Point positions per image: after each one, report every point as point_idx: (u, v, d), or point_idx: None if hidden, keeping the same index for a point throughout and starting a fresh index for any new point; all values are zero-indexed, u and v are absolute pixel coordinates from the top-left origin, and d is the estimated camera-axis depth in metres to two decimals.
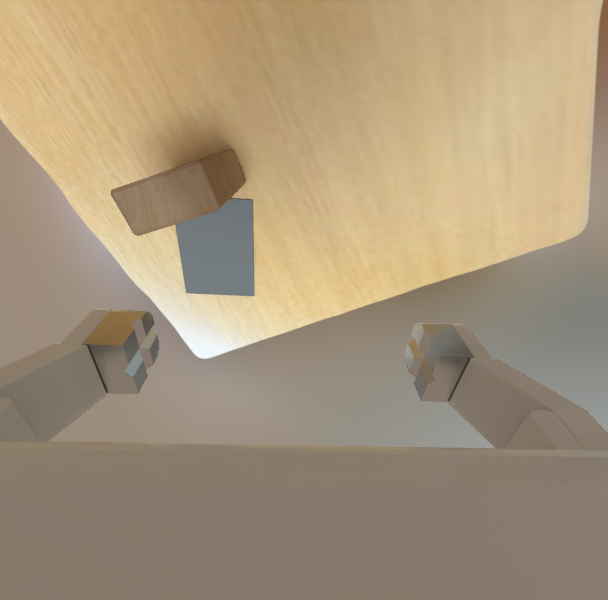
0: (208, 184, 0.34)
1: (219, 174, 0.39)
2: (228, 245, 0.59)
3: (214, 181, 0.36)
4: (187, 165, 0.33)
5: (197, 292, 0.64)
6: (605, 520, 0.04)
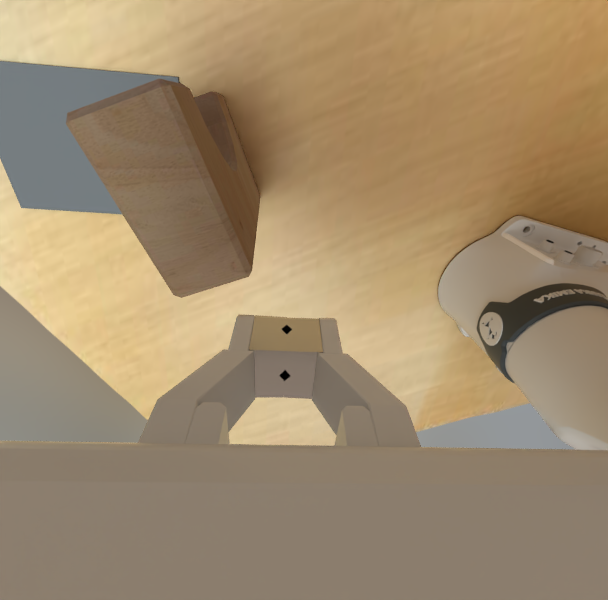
0: (216, 285, 0.20)
1: None
2: None
3: None
4: (243, 258, 0.19)
5: None
6: (605, 520, 0.04)
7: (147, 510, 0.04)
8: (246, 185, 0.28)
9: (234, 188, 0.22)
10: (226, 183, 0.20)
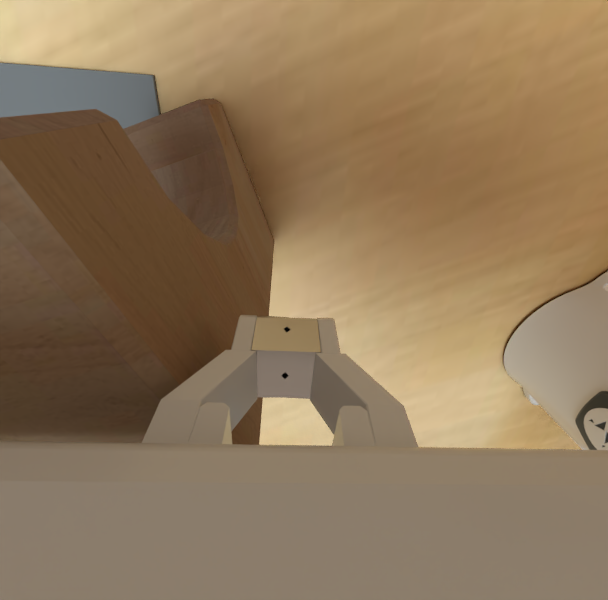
0: None
1: None
2: None
3: None
4: None
5: None
6: (605, 520, 0.04)
7: (147, 510, 0.04)
8: (253, 247, 0.18)
9: (228, 288, 0.12)
10: (208, 302, 0.10)
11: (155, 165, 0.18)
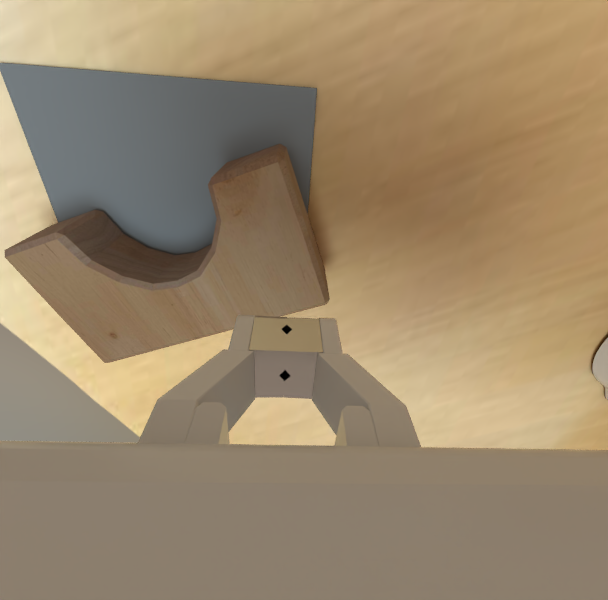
0: None
1: None
2: (197, 217, 0.25)
3: None
4: None
5: (18, 106, 0.21)
6: (605, 520, 0.04)
7: (147, 510, 0.04)
8: (216, 298, 0.23)
9: (131, 308, 0.23)
10: (100, 307, 0.23)
11: None
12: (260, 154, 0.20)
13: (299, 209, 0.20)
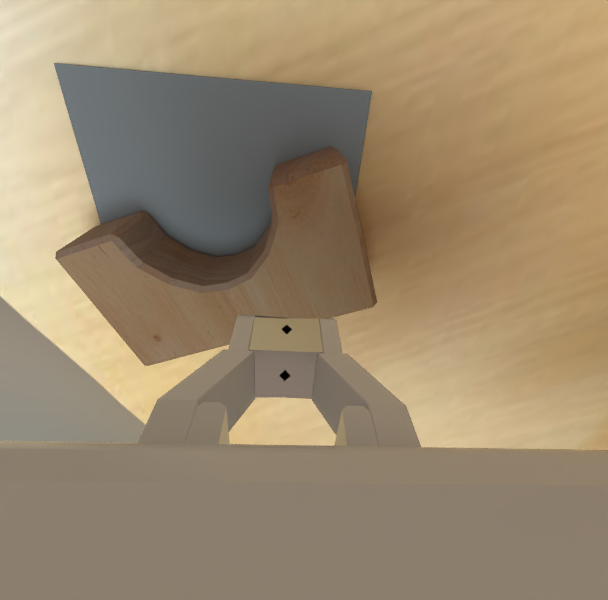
0: None
1: None
2: (241, 219, 0.25)
3: None
4: (137, 356, 0.25)
5: (70, 107, 0.20)
6: (605, 520, 0.04)
7: (147, 510, 0.04)
8: (265, 300, 0.23)
9: (178, 310, 0.23)
10: (147, 309, 0.23)
11: None
12: (316, 156, 0.20)
13: (356, 212, 0.19)
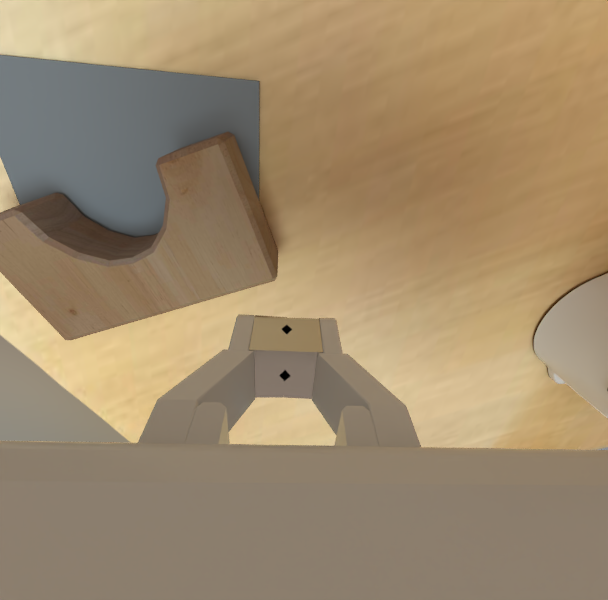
0: None
1: None
2: (154, 201, 0.27)
3: None
4: None
5: None
6: (605, 520, 0.04)
7: (147, 510, 0.04)
8: (170, 274, 0.24)
9: (89, 284, 0.24)
10: (59, 283, 0.24)
11: None
12: (207, 139, 0.22)
13: (241, 189, 0.21)
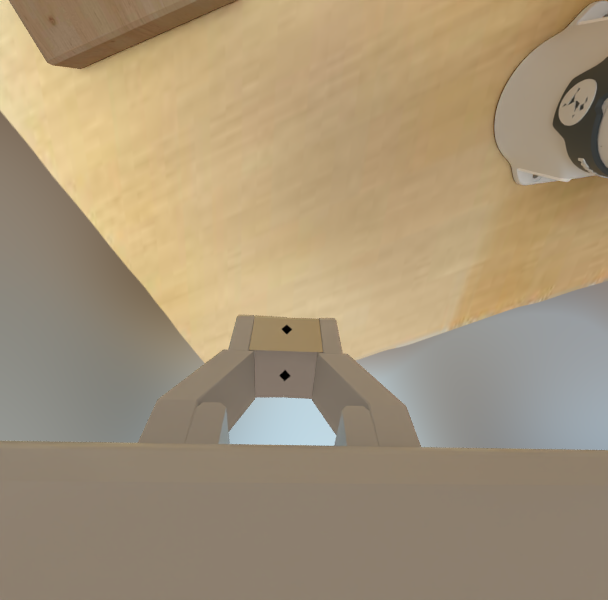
0: (65, 66, 0.33)
1: (109, 46, 0.32)
2: None
3: (84, 59, 0.32)
4: (39, 48, 0.30)
5: None
6: (605, 520, 0.04)
7: (147, 510, 0.04)
8: None
9: None
10: None
11: None
12: None
13: None
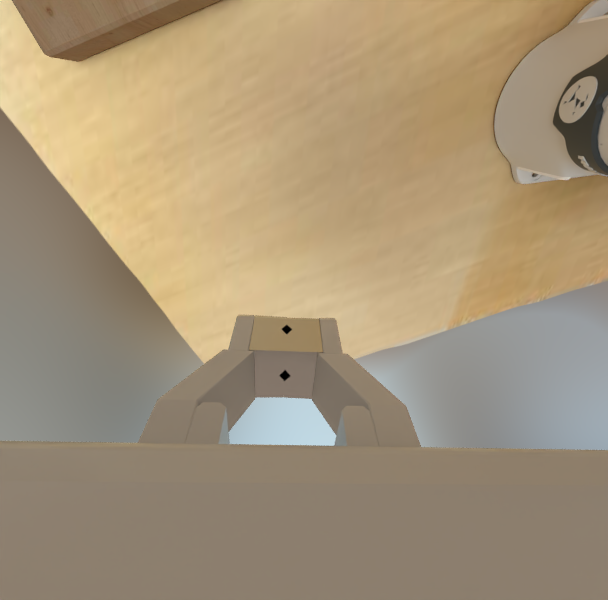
0: (62, 58, 0.32)
1: (107, 39, 0.31)
2: None
3: (82, 51, 0.32)
4: (36, 39, 0.30)
5: None
6: (605, 520, 0.04)
7: (147, 510, 0.04)
8: None
9: None
10: None
11: None
12: None
13: None
